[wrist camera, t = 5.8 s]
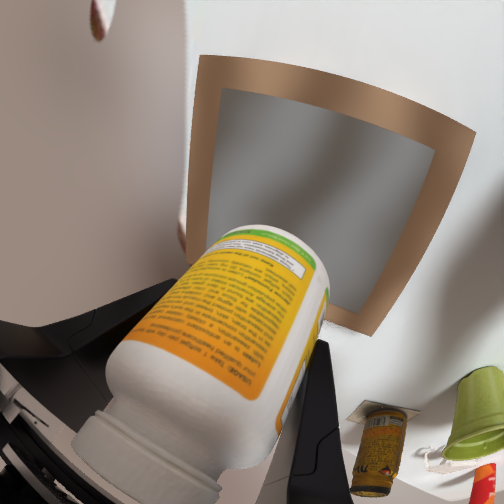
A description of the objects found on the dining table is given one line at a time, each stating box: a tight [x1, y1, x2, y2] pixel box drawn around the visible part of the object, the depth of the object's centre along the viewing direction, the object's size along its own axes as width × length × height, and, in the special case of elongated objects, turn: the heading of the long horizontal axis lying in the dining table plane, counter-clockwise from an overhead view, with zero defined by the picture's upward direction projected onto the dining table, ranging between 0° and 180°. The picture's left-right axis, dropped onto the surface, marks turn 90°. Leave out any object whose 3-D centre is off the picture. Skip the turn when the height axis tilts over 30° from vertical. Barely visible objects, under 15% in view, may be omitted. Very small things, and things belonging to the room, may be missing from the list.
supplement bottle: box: [71, 225, 330, 504], centre depth 8 cm, size 5×5×10 cm
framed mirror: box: [186, 55, 476, 337], centre depth 18 cm, size 16×16×4 cm
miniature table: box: [425, 446, 482, 474], centre depth 27 cm, size 12×8×5 cm
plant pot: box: [442, 367, 504, 461], centre depth 18 cm, size 9×9×9 cm
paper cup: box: [469, 463, 496, 504], centre depth 25 cm, size 8×8×14 cm
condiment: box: [347, 401, 419, 497], centre depth 26 cm, size 7×8×12 cm
